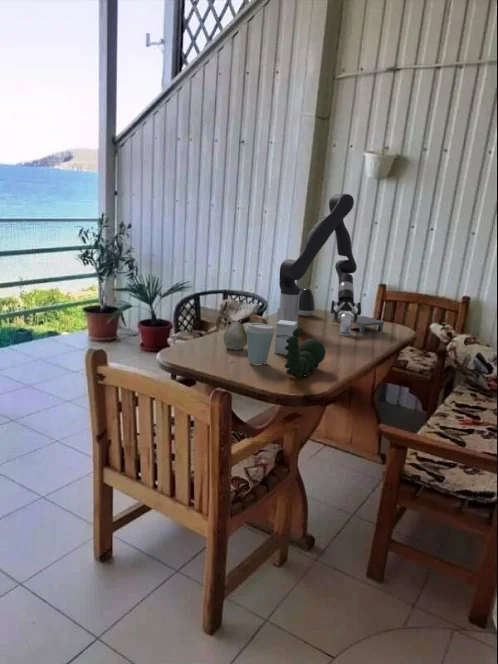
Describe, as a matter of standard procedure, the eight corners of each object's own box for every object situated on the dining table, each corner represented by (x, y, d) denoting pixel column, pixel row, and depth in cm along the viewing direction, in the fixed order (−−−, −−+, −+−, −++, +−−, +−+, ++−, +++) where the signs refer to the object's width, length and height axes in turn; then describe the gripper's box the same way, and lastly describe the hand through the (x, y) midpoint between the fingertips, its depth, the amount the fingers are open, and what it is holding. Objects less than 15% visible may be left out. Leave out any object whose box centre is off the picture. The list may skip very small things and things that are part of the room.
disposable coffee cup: (255, 357, 196) (258, 319, 193) (278, 363, 190) (280, 325, 186) (238, 362, 188) (240, 323, 185) (260, 369, 182) (263, 329, 178)
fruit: (250, 347, 209) (251, 319, 207) (244, 353, 201) (245, 324, 198) (226, 344, 212) (228, 316, 209) (219, 350, 203) (220, 321, 200)
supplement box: (273, 353, 203) (275, 322, 200) (278, 349, 210) (280, 319, 207) (291, 356, 201) (294, 325, 198) (295, 351, 208) (297, 321, 205)
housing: (343, 336, 237) (345, 316, 235) (336, 333, 242) (338, 314, 240) (352, 335, 240) (355, 315, 238) (345, 332, 245) (347, 313, 242)
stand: (361, 333, 244) (362, 323, 243) (342, 327, 256) (343, 317, 254) (383, 331, 251) (384, 321, 250) (363, 325, 262) (364, 316, 261)
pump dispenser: (304, 312, 287) (306, 286, 283) (317, 316, 279) (320, 289, 275) (291, 314, 280) (293, 287, 277) (305, 318, 273) (307, 290, 269)
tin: (247, 330, 239) (248, 312, 237) (253, 330, 240) (254, 312, 238) (261, 338, 226) (262, 319, 224) (268, 337, 227) (269, 319, 225)
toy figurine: (301, 388, 170) (331, 364, 190) (304, 334, 164) (335, 315, 184) (276, 382, 175) (308, 359, 195) (278, 329, 168) (311, 311, 189)
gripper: (332, 287, 246) (331, 315, 238) (361, 289, 245) (362, 317, 237) (330, 296, 252) (329, 324, 244) (359, 298, 251) (359, 326, 243)
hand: (345, 320), depth 240 cm, fingers open, 8 cm apart
